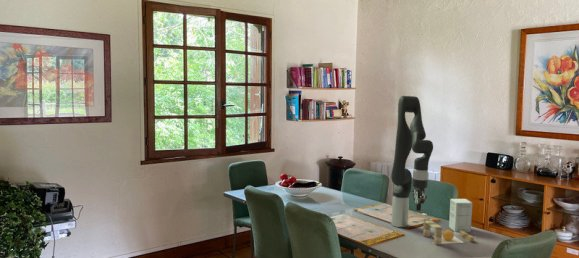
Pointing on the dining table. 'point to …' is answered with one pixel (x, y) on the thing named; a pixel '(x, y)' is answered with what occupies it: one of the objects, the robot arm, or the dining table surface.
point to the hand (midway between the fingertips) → (418, 210)
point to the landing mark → (454, 240)
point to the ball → (448, 235)
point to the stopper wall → (466, 236)
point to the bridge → (437, 231)
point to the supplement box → (460, 215)
